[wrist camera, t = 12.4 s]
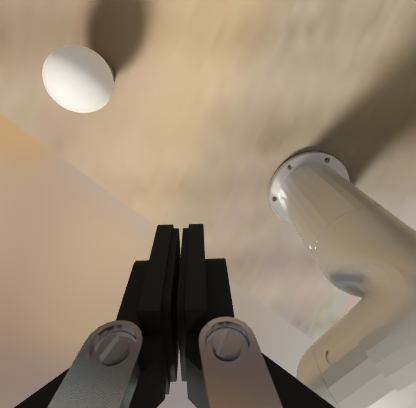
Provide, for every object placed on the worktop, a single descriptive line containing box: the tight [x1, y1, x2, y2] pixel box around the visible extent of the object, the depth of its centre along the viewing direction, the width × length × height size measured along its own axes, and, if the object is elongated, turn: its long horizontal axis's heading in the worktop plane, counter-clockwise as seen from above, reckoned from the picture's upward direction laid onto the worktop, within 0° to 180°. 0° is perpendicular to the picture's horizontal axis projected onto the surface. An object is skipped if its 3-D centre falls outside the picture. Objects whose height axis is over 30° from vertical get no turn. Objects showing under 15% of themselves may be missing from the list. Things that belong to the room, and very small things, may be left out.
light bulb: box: [42, 45, 114, 113], centre depth 31 cm, size 7×7×11 cm
